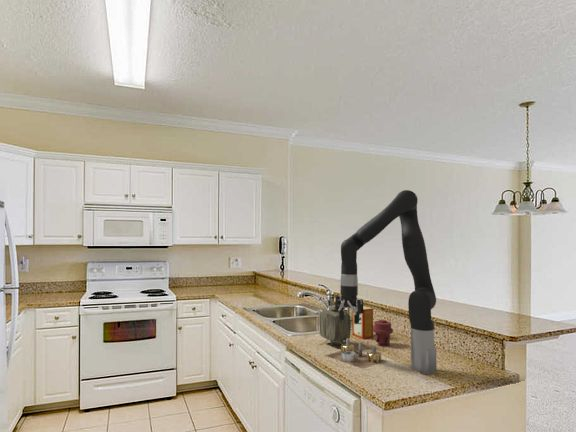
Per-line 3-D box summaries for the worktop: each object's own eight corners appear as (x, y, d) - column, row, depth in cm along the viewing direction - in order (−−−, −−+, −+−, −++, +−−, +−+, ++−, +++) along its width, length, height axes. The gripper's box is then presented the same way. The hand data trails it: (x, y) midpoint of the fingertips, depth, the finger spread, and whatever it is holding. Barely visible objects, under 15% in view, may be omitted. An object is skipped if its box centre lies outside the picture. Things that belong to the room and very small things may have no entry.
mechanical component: (396, 345, 198) (385, 349, 191) (380, 341, 205) (368, 344, 199) (396, 320, 198) (385, 323, 192) (380, 317, 206) (368, 320, 199)
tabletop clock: (350, 349, 190) (350, 297, 191) (336, 352, 185) (336, 298, 187) (331, 342, 202) (332, 293, 204) (317, 344, 198) (318, 294, 199)
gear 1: (357, 352, 182) (357, 341, 182) (348, 355, 178) (348, 344, 178) (347, 349, 186) (347, 338, 186) (338, 351, 182) (338, 341, 182)
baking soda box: (352, 335, 217) (352, 305, 218) (361, 333, 220) (361, 305, 221) (363, 339, 209) (363, 308, 209) (372, 337, 212) (372, 307, 212)
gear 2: (382, 359, 172) (382, 352, 172) (379, 363, 166) (379, 356, 166) (368, 357, 175) (368, 350, 175) (365, 361, 169) (365, 354, 169)
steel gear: (358, 360, 171) (358, 353, 171) (349, 363, 167) (349, 355, 167) (348, 356, 175) (348, 349, 176) (338, 359, 171) (338, 352, 172)
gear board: (386, 363, 170) (386, 345, 171) (362, 371, 160) (362, 352, 160) (347, 351, 187) (347, 335, 187) (324, 357, 177) (324, 341, 177)
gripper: (367, 285, 169) (367, 323, 169) (342, 282, 180) (342, 317, 180) (356, 286, 165) (355, 325, 164) (331, 283, 176) (331, 319, 175)
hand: (348, 321), depth 172 cm, fingers open, 8 cm apart
